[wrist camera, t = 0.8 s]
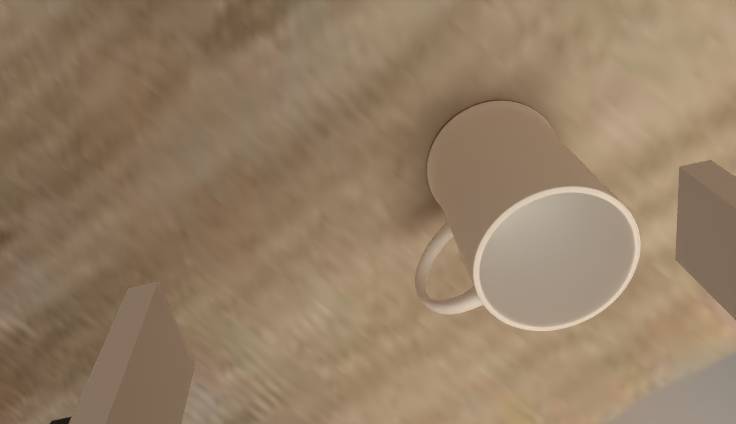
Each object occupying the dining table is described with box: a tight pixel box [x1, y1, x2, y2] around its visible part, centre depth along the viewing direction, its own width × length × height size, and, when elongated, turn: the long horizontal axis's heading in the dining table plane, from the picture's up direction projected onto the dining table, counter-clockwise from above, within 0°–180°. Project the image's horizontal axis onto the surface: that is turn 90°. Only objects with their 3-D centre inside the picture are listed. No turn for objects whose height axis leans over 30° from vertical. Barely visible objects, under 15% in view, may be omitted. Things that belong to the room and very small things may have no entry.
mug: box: [415, 101, 640, 331], centre depth 35 cm, size 12×8×12 cm
